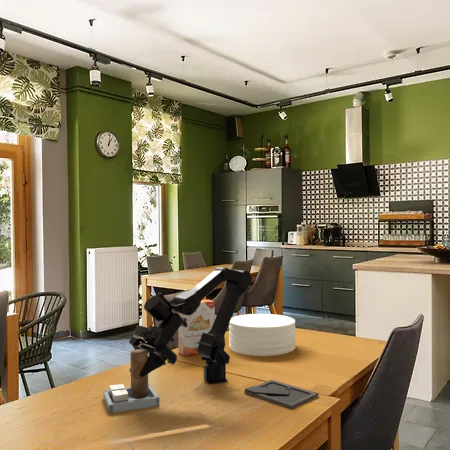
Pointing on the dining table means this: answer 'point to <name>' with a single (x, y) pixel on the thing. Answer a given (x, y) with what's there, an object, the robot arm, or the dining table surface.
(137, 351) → the walnut dowel
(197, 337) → the cracker box
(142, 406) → the parts tray
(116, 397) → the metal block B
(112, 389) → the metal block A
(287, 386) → the picture frame
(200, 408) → the dining table surface
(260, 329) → the plate stack
